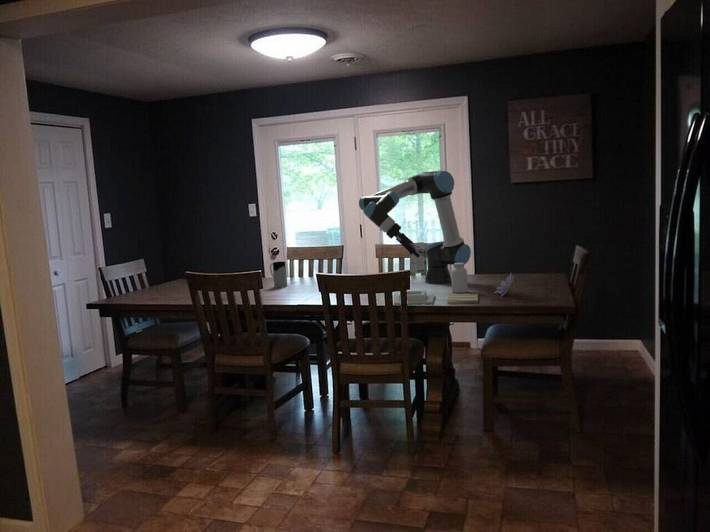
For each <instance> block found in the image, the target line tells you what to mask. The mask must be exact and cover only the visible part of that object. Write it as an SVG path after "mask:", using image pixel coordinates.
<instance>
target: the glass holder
mask: <svg viewBox="0 0 710 532" xmlns="http://www.w3.org/2000/svg"><path fill="white" fill-rule="evenodd" d="M269 269H270V270H269V271H270V274H271V276H272V278H273V288H274V287H285V288H287V287H286V286H288V287H289V285H288V279H287V267H286V261H275V262H274V261H273V262H272V263H270V265H269Z"/></svg>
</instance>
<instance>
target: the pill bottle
mask: <svg viewBox="0 0 710 532" xmlns="http://www.w3.org/2000/svg"><path fill="white" fill-rule="evenodd" d="M450 275H451V279H452V281H451V293H453V294H466V293H467V292H468V271H467V269H466V268H465V265H464V263H454V265H453V268H452V269H451V272H450Z"/></svg>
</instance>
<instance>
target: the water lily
mask: <svg viewBox="0 0 710 532" xmlns="http://www.w3.org/2000/svg"><path fill="white" fill-rule="evenodd" d="M514 277H515V275H514V274H513V275H512V272H510V274H509V276H506V280H505V279H503V280H502V281H500V285H501V286H498V287H496V291H494V292H493V293H494V294H498V293H499V294H501V295H500V297H501V296H502V297H503V296H505V295H506V293H507V292H508V290H510V291H511V292H512V294H513V295H516V292H515V291H514V290H513V289H512V288H511V285H512V284H513V281H514Z"/></svg>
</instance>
